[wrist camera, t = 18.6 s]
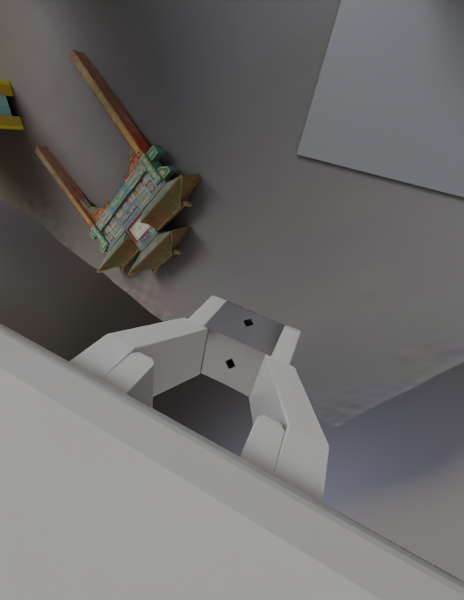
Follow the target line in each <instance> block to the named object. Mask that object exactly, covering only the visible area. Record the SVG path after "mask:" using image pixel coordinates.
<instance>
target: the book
mask: <svg viewBox="0 0 464 600" xmlns="http://www.w3.org/2000/svg"><path fill="white" fill-rule="evenodd" d="M6 96H14V95H13V92H12V89H11V86H10V82H7V81H1V80H0V129H22V130H24V128H23V125H22V121H21V118H20V117H18V116H12V114H11V111H10V108H9V105H8V102H7V98H6Z"/></svg>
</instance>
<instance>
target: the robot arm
mask: <svg viewBox="0 0 464 600" xmlns="http://www.w3.org/2000/svg"><path fill="white" fill-rule="evenodd" d="M284 326H285V327H284ZM300 334H301V331H300V330H298V329H295V328H293V327H290V326H287V325H283V324H281V323H279V322H276V321H274V320H271V319H269V318H266V317H264V316H261V315H259V314H256V313H255V312H252V311H250V310H248V309H245V308H243V307H241V306H239V305H236V304H234V303H232V302H230V301H227V300H225V299H222V298H220V297H218V296H215V295H214V296H211V297H210V298H209V299H208V300H207V301H206V302H205V303H204V304H203V305H202V306H201V307H200V308H199V309H198V310H197V311H196V312H195V313H194V314H193V315H192V316H191V317H190V318H189V319H186V318H179V319H175V320H170V321H166V322H161V323H157V324H152V325H147V326H143V327H138V328H133V329H129V330H124V331H119V332H115V333H110V334H107V335H105V336H104V337H103V338H101V339H100V340H98V341H97V342H96V343H94V344H93V345H91V346H90V347H89V348H87V349H86V350H85V351H83V352H82V353H81V354H79V355H78V356H76V357H75V358H74V359H72V360H71V361H70V362H68V361H66V360H65V359H63V358H61V357H59V356H57V355H55V354H54V353H52V352H50V351H48V350H47V349H45V348H43V347H41V346H39V345H38V344H36V343H34V342H32V341H30V340H29V339H27V338H25V337H23V336H22V335H20V334H18V333H16V332H14V331H13V330H11V329H9V328H7V327H5V326H3V325H2V324H0V600H464V581H462V580H460V579H458V578H457V577H455V576H453V575H451V574H449V573H448V572H446V571H444V570H442V569H441V568H439V567H437V566H435V565H433V564H432V563H430V562H428V561H426V560H424V559H422V558H421V557H419V556H417V555H415V554H414V553H412V552H410V551H408V550H406V549H405V548H403V547H401V546H399V545H397V544H396V543H394V542H392V541H390V540H388V539H386V538H385V537H383V536H381V535H379V534H377V533H376V532H374V531H372V530H370V529H369V528H367V527H365V526H363V525H361V524H360V523H358V522H356V521H354V520H352V519H351V518H349V517H347V516H345V515H344V514H342V513H340V512H338V511H336V510H335V509H333V508H331V507H329V506H327V505H325V504H323V503H322V502H323V494H324V486H325V477H326V468H327V460H328V451H329V445H328V443H327V441H326V438H325V436H324V434H323V431H322V429H321V427H320V424H319V422H318V420H317V417H316V415H315V413H314V410H313V408H312V406H311V404H310V401H309V399H308V397H307V394H306V392H305V390H304V387H303V385H302V383H301V381H300V378H299V376H298V374H297V371H296V369H295V367H293V366H291V365H290V364H291V361H292V358H293V355H294V352H295V349H296V346H297V343H298V340H299V337H300ZM200 373H202V374H204V375H207V376H209V377H211V378H213V379H215V380H217V381H219V382H222V383H224V384H226V385H228V386H230V387H232V388H233V389H235V390H237V391H239V392H241V393H243V394H245V395H247V396H249V397H250V398H249V400H250V406H251V413H252V419H253V427H252V430H251V432H250V434H249V436H248V439H247V441H246V443H245V446H244V449H243V451H242V453H241V455H240V457H239V456H237V455H235V454H234V453H232V452H230V451H228V450H226V449H225V448H223V447H221V446H219V445H217V444H215V443H214V442H212V441H210V440H208V439H206V438H205V437H203V436H201V435H199V434H197V433H196V432H194V431H192V430H190V429H188V428H187V427H185V426H183V425H181V424H180V423H178V422H176V421H174V420H172V419H171V418H169V417H167V416H165V415H163V414H162V413H160V412H158V411H156V410H154V409H153V408H152V398H153V396H155V395H157V394H159V393H161V392H164V391H165V390H168V389H170V388H172V387H174V386H176V385H178V384H180V383H182V382H184V381H186V380H188V379H191V378H193V377H195V376H197V375H199V374H200Z"/></svg>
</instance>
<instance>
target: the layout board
mask: <svg viewBox="0 0 464 600" xmlns="http://www.w3.org/2000/svg"><path fill="white" fill-rule="evenodd" d="M297 155H301V156H305V157H309V158H312V159H316V160H320V161H324V162H328V163H332V164H336V165H340V166H344V167H347V168H351V169H355V170H359V171H363V172H367V173H371V174H375V175H379V176H383V177H386V178H390V179H394V180H398V181H402V182H406V183H410V184H414V185H418V186H421V187H425V188H429V189H433V190H437V191H441V192H445V193H449V194H453V195H456V196H460V197H464V0H341V3H340V6H339V10H338V13H337V17H336V20H335V23H334V27H333V30H332V34H331V37H330V41H329V44H328V47H327V51H326V54H325V58H324V61H323V65H322V68H321V72H320V75H319V78H318V82H317V85H316V89H315V92H314V96H313V99H312V103H311V106H310V109H309V113H308V116H307V120H306V123H305V127H304V130H303V134H302V137H301V140H300V144H299V147H298V151H297Z"/></svg>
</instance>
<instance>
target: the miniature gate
mask: <svg viewBox="0 0 464 600" xmlns="http://www.w3.org/2000/svg"><path fill="white" fill-rule="evenodd" d="M70 60H71V62H72V63H73V65H74V66H75V67H76V69H77V70H78V72H79V73H80V75H81V76H82V78H83V79H84V81H85V82H86V83H87V85H88V86H89V88H90V89H91V91H92V92H93V94H94V95H95V97H96V98H97V99H98V101H99V102H100V104H101V105H102V107H103V108H104V110H105V111H106V113H107V114H108V115H109V117H110V118H111V120H112V121H113V123H114V124H115V126H116V127H117V129H118V130H119V132H120V134H121V135H122V137H123V138H124V140H125V141H126V143H127V145H128V146H129V147H128V148H127V150H128V158H129V160H130V162H129V163H128V172H127V174H126V175H123V177H124V179H125V183H124V184H123V186H122V187H121V188H120V190H119V191H118V193H117V194H116V195H115V197H114V198H113V200H112V201H111V202H110V204H109V202H105V203H104V207H103V208H98V207H92V206H91V204H90V203H89V201H88V200H87V199H86V197H85V196H84V194H83V193H82V192H81V190H80V189H79V188H78V186H77V185H76V183H75V182H74V181H73V179H72V178H71V177H70V176H69V174H68V173H67V172H66V171H65V169H64V168H63V167H62V166H61V164H60V163H59V162H58V161H57V159H56V158H55V157H54V156H53V154H52V153H51V152H50V151H49V149H48V148H47V147H45V146H36V149H35V153H36V154H37V156H38V157H39V158H40V160H41V161H42V163H43V164H44V165H45V167H46V168H47V169H48V171H49V172H50V174H51V175H52V176H53V178H54V179H55V180H56V182H57V183H58V185H59V186H60V187H61V189H62V190H63V191H64V193H65V194H66V195H67V197H68V198H69V200H70V201H71V202H72V204H73V205H74V206H75V208H76V209H77V211H78V212H79V213H80V215H81V216H82V217H83V219H84V220H85V222H86V223H87V224H88V226H89V227H90V228H91V230H92V231H91V232H90V234H89V235H90V236H91V237H92V239H97V238H98V239H99V241H100V250H101V251H102V252H106V251H109V252H108V253H107V255H106V257H105V258H104V260H103V262H102V264H101V265H100V267H99V269H98V270H97V272H98V273H100V272H103V271H105V270H108V269H111V268H114V267H120V268H121V270H122V272H123V273H124V272H126V266H127V265H128V264H129V263H130V262H131V261H132V260H133V259H134V258H135V257H136V256H137V255H138V254H139V253H140V252H141V253H140V255H139V256H138V258H137V260H136V261H135V263H134V265H133V266H132V268H131V270H130V271H129V273H127V274H128V275H129V276H130V275H132V274H135V273H138V272H140V271H143V270H148V269H153V272H154V274H155V276H156V275H158V269H159V267H161V266H162V265H163V264H164V263H166V262H167V261H168V260H169V259H170V258H171V257H172V256H173V255H175V254H178V255H180V254H182V252H181V251H180V250H179V249H177V248H178V246H179V244H180V242H181V241H182V239H183V238H184V237H185V236H186V234H187V233H188V232H189V231H190V230H191V228H193V227H192V226H191V225H190V226H186V227H183V228H179V229H175V230H171V231H168V232H165V231H163V230H162V229H163V228H164V227H165V226H166V225H167V224H168V223H169V222H170V221H171V220H172V219H173V218H174V217H175V216H176V215H177V214H178V213H179V212H180V211H181V210H182V209H183V208H184V207H185V206H188V207H191V206H192V204H191V203H190V202H188V201H187V199H188V197H189V195H190V193H191V191H192V190H193V189H194V187H195V186H196V185H197V184H198V183H199V181H200V180H201V179H200V174H198V175H180V176H179V177H177V178H175V179H173V180H170V179H171V178H170V177H171V176H172V175H173V174H174V173H175V172H176V169H175V168H174V167H173V166H164V167H163V166H162V165H161V163H160V162H159V159H160V158H161V156H162V155H163V154H164V152H163V150H162V149H161V147H160V146H157V145H152V147H151V148H150V147H149V146H148V144H147V143H146V141H145V140H144V138H143V137H142V135H141V134H140V132H139V131H138V129H137V128H136V126H135V125H134V123H133V122H132V121H131V119H130V118H129V116H128V115H127V113H126V112H125V110H124V109H123V107H122V106H121V104H120V103H119V101H118V100H117V99H116V97H115V96H114V94H113V93H112V92H111V90H110V89H109V88H108V86H107V85H106V83H105V82H104V81H103V79H102V78H101V77H100V75H99V74H98V72H97V71H96V70H95V68H94V67H93V66H92V64H91V63H90V62H89V60H88V59H87V57H86V56H85V55H84V54H83V53H81V52H78V51H75V50H73V51H72V53H71V56H70Z"/></svg>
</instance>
